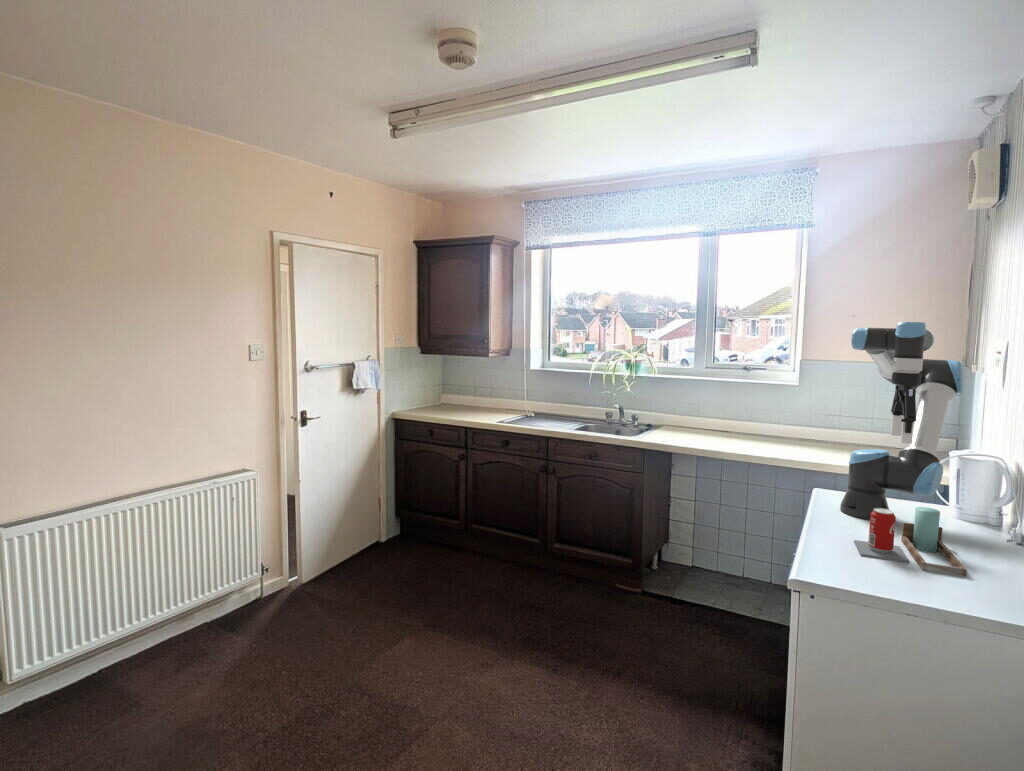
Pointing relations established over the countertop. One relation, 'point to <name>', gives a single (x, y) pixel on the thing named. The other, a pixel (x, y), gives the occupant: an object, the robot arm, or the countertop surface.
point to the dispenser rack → (958, 567)
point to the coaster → (892, 555)
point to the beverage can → (882, 530)
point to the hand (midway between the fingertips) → (900, 439)
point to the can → (926, 529)
